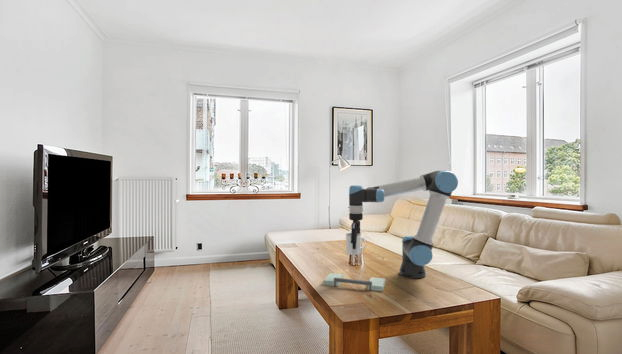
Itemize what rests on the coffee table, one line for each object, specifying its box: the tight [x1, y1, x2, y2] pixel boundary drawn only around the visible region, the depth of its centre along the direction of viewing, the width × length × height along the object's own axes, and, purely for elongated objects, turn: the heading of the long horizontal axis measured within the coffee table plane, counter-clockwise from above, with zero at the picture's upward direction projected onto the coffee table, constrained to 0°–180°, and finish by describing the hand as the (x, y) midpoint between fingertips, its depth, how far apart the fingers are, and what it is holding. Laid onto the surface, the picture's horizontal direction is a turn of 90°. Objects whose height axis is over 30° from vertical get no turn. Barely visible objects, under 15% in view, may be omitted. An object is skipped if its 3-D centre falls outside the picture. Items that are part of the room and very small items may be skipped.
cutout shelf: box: [323, 272, 386, 292], centre depth 178 cm, size 32×13×4 cm, turn 71°
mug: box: [345, 232, 367, 256], centre depth 183 cm, size 9×12×11 cm
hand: (356, 252), depth 182 cm, fingers closed on mug, 9 cm apart
